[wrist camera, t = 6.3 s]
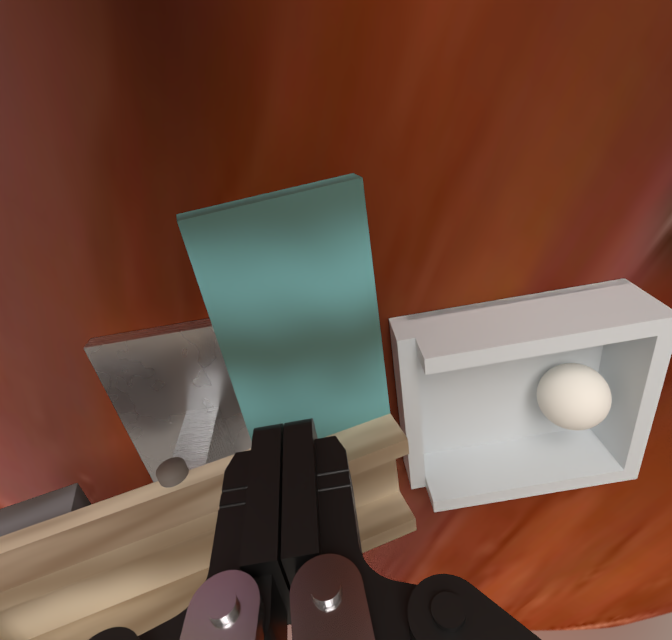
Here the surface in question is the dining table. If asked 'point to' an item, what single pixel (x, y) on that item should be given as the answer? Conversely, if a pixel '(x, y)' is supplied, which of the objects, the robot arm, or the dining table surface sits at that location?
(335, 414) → the lever
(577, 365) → the ball
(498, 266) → the dining table surface
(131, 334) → the lever stand
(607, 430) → the tray
